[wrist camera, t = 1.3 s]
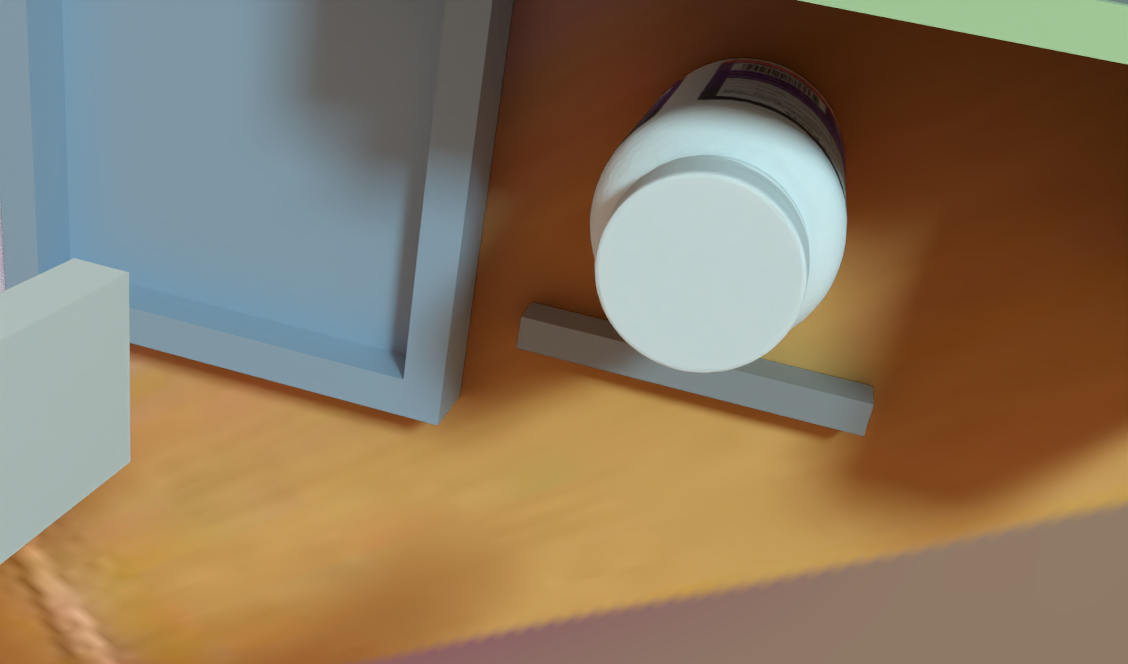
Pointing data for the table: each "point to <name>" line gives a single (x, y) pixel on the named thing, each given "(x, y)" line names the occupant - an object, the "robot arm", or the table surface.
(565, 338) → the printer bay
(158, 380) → the table surface
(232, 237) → the tray
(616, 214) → the pill bottle
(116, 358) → the robot arm
